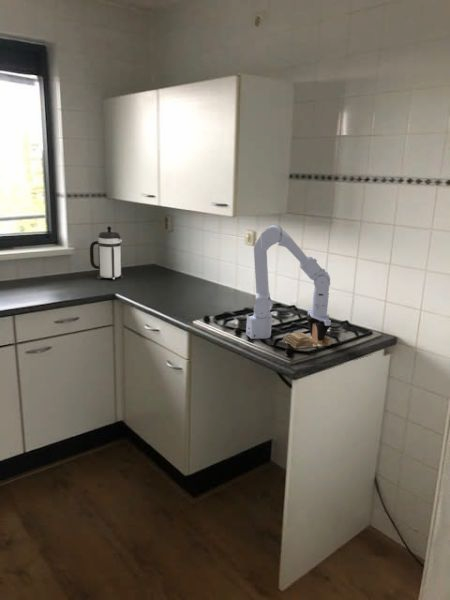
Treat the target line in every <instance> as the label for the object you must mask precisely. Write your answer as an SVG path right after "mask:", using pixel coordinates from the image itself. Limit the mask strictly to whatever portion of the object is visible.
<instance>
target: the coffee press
mask: <svg viewBox="0 0 450 600" xmlns="http://www.w3.org/2000/svg"><path fill="white" fill-rule="evenodd" d="M97 238H98V240H96V241H93V242H91V244H90V246H89V261H90V265H91V267H92V268H94V269H96V270H98V276H97V280H101V279H102V278H105V279H107V278H108V279H111V281H112V282H115V281H116V278H119V277H120V278H121V279H122V278H123V279H124V275H123V274H122V252H121V251H122V248H121V247H122V246H121V245H122V242H123V240H122V235H121V234H120V232H118V231H116V230H112V227H111V226H107V229H106V230H102V231H101V230H100V231H99V233H98V235H97ZM95 245H98V248H97V249H98V265H97V264H96V263H95V260H94V254H95V253H94V248H95Z"/></svg>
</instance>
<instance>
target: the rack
mask: <svg viewBox="0 0 450 600" xmlns="http://www.w3.org/2000/svg"><path fill="white" fill-rule="evenodd" d="M309 337H310V340H311V341H313V344H312V346H302V347H296V344H295V343H294V342H293V341H291V340H290V339H289V338H287V335H285V334H284V335H282V341H284V342H286V343H287V344H290V347H292V348H294V349H301V348H312V347H313V348H315V347H324V346H325V347H326V346H327V347H328V346H331V340H332V339H331V338H330V337H328V336H326V335H325V337H324V340H322V343H319V344H318V343H317V342H315V341H314V340H312V339H311V337H312V336H309Z"/></svg>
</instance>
